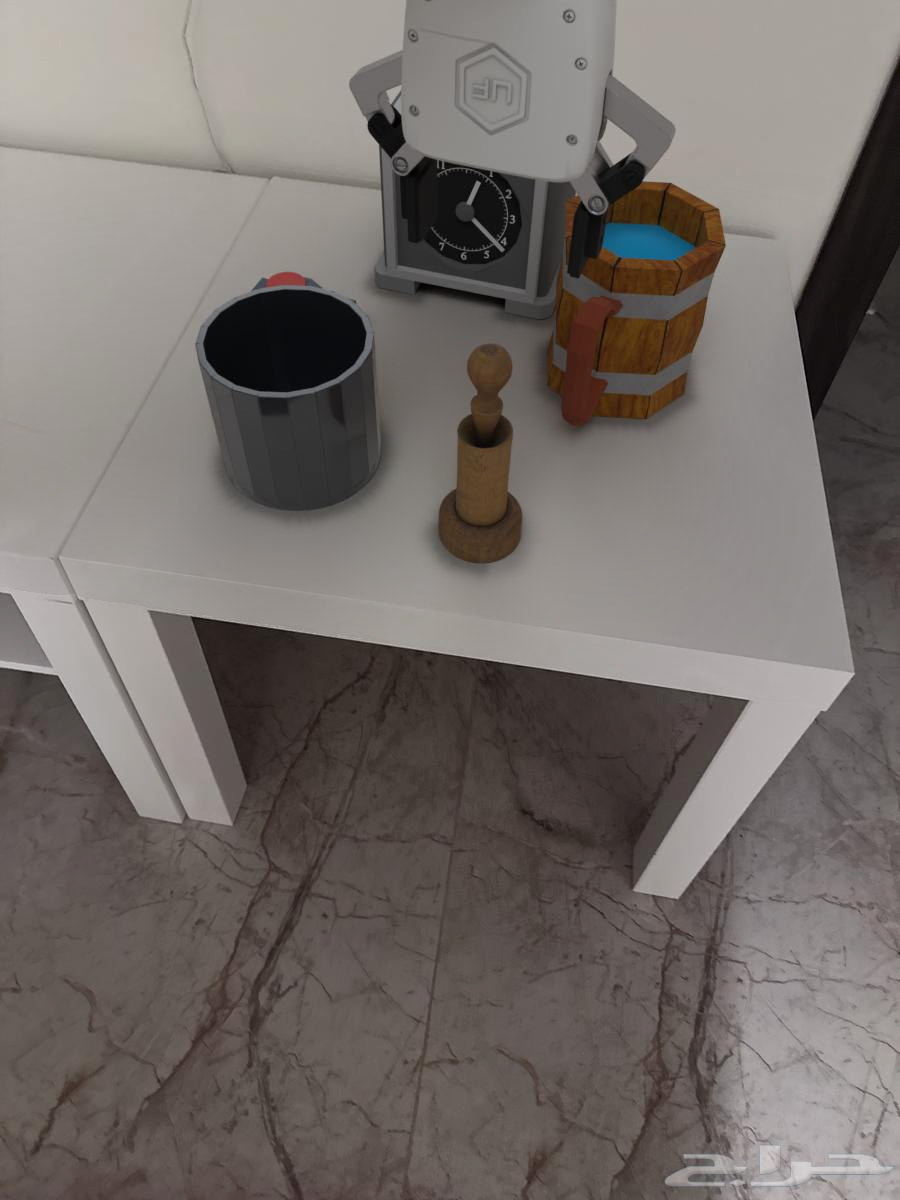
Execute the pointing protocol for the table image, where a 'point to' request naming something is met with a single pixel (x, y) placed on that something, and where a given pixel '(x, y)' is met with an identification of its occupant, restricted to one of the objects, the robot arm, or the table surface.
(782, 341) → the table surface
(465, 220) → the alarm clock
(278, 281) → the button
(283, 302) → the grey open cylinder
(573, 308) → the mug
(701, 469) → the table surface
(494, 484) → the mortar and pestle
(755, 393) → the table surface
